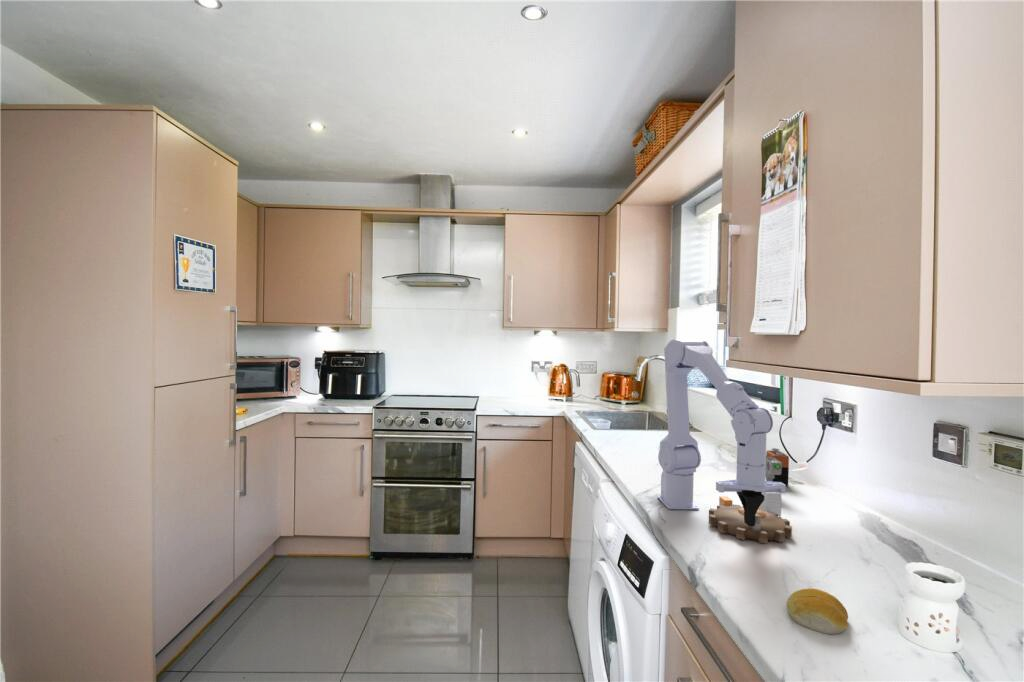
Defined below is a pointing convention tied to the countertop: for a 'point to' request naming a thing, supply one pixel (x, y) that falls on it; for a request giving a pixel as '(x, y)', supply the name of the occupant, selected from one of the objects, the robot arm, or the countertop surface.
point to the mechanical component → (772, 468)
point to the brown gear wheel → (764, 529)
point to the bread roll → (817, 611)
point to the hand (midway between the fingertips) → (749, 524)
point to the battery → (785, 465)
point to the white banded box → (771, 502)
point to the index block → (725, 501)
